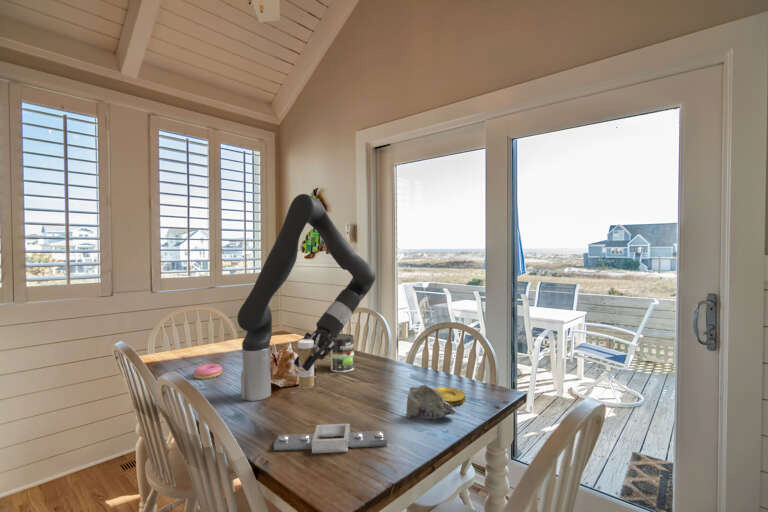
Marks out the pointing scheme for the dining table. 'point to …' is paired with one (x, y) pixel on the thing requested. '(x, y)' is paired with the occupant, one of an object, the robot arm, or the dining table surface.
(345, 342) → the coffee can
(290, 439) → the left link bar
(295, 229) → the robot arm
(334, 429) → the link socket
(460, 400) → the gold slotted disc
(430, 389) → the mineral rock
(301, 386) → the sprinkles bottle
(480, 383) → the dining table surface
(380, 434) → the right link bar
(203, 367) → the doughnut
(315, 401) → the dining table surface
